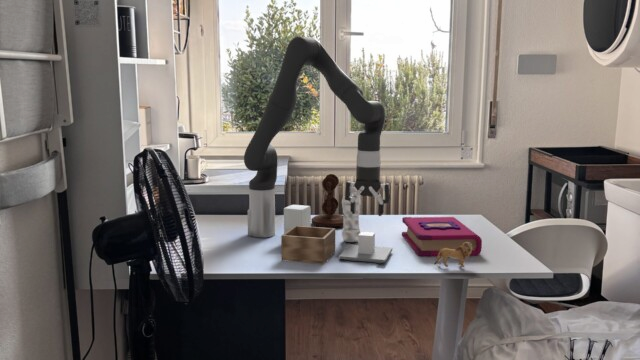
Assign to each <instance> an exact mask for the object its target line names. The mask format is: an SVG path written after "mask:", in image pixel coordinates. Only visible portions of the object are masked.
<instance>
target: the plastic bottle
mask: <svg viewBox="0 0 640 360" xmlns="http://www.w3.org/2000/svg"><path fill="white" fill-rule="evenodd" d="M357 191H358V190H357V189H356V188H355V186H353V188H352V189H351V193H350V196H351V197H353V196H354V195H355V194H356V192H357ZM355 202H356V213H355V214H352V212H351V211H350V208H351V203H350V201H348V200H345V194H344V196H343V197H342V199H341V205H342V206H341V207H342V215H343V216H344V217H343V219H344V220H343V225H342V228H341V229H342V230H341V238H342V241H343V242H346V243H357V242H358V235H359V234H360V233H361V229H360V210H361V209H360V208H361V204H362V203H361V202H362V201H361V198H360V196H359V197H358V198H357V199H356V200H355Z"/></svg>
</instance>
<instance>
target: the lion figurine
mask: <svg viewBox="0 0 640 360" xmlns="http://www.w3.org/2000/svg"><path fill="white" fill-rule="evenodd" d="M472 249H473V248H472V244H471V243H469V242H465V243H463V245H461V246H460V247H459V248H457V249H448V248H443V249H441V250H440V251H439V253H438V256H436V261H435V262H434V263H433V265H440V264H441V262H440V261H441V260H443V261H442V264H443V265H444V266H445V268H448V267H449V265H448V264H447V263H446V261H447V259H448V258H451V259H453V260H457V265H458V266H460V267H462V268H464V267H465V264H464V262H465V259H468V258H469V257H470V256H469V255H470V254H471V252H472ZM440 253H441V255H440Z"/></svg>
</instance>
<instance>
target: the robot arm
mask: <svg viewBox="0 0 640 360" xmlns="http://www.w3.org/2000/svg"><path fill="white" fill-rule="evenodd" d="M304 66H311V67H312V68H315V70H317V71H318V72H320V74H321V75H322V76H323V77H324V79H325V81H326V83H327V86H328V87H329V89H330V91H331V92H332V93H333V94H334V95H335V97H336V98H338V99H339V100H340V101H341V102H342V103H343V104H345V106H346V108H347V110H348V111H349V113H350V114H351V116H352V117H353V118H354V120H356V121H357V122H359V123H361V124H363V130H362V131H360V132H359V133H358V134H357V135H358V136H357V151H356V171H355V172H356V173H355V175H356V176H355V182H353V181H350V180H348V181H347V182H346V183H345V194H344V195H345V200H348V201H350V203H351V208H350V211H351V212H352V214H355V213H356V202H355V200H356V199H357V198H358V197H359V198H360V196H362V197H369V198H372V197H374V198H375V199H376V201H377V203H379V204H378V217H382V215H384V213H385V204H389V203H390V201H391V187H390V186H391V185H390V183H388V182H387V183H381V151H380V150H381V135H382V132H383V128H384V123H385V118H386V111H385V107H384V105H383V104H382V103H381V102H380V101H378V100H367V99H366V98H365V97H364V92H363V90H362V89H361V87H360V86H359V85H358V84H357V83H356V82H355V81H353V79H351V78H350V76H348V75H347V74H346V73H345V72H344V71H343V69H341V67H339V65H338V64H337V63H336V61H335V60H334V59H333V58H332V57H331V55H330V54H329V52H328V51H327V50H326V48H325V47H324V46H323V44H322V43H321V42H320V41H319V40H318V39H317V38H315V37H313V36H300V35H299V36H295V37H293V38H292V39H291V40H290V41H289V43H288V45H287V47H286V49H285V53H284V57H283V60H282V63H281V67H280V71H279V74H278V76H277V79H276V81H275V83H274V86H273V88H272V91H271V94H270V96H269V98H268V100H267V103H266V106H265V109H264V112H263V114H262V116H261V119H260V121H259V123H258V125H257V128H256V129H255V132H254V134H253V136H252V138H251V140H250V141H249V143H248V145H247V147H246V149H245V150H244V151H245V152H244V155H243V162H244V166H245V167H246V169H248V170H249V171H251V172H256V174H255V176H254V177H252V178H251V179H250V180H249V182H248V189H249V190H248V191H249V192H248V196H249V207H248V209H247V236H250V237H253V238H269V237H270V238H271V237H274V236H275V235H276V206H275V205H276V201H275V200H276V199H275V197H276V196H275V195H276V192H275V190H276V189H275V188H276V187H275V185H276V182H277V178H278V153H277V149H276V148H275V146H273V145H272V144H271V142H272V141H273V140H274V138H275V137H276V136H277V135H278V133H280V132H281V130H283V128H284V127H285V126H286V125H287V124H288V122H289V121H290V119H291V117H292V114H293V113H294V110H295V108H296V105H297V98H298V97H297V96H298V95H297V94H298V93H297V81H298V78H299V76H300V75H301V74H300V73H301V71H302V69H303V68H304ZM353 186H355V188H356V189H357V192H356V194H355V195H354V196H353V197H351V196H350V193H351V189H352V188H353ZM381 188H382V191H383V192H384V198H383V196H382V194H381V193H380V189H381Z"/></svg>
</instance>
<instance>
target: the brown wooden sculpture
mask: <svg viewBox="0 0 640 360" xmlns="http://www.w3.org/2000/svg"><path fill="white" fill-rule="evenodd" d="M321 184H322V188H323V194H322V202H321V213H322V214H317V215H315V216H314V217H312V218H311V224H313V225H314V227H339V228H340V229H343V220H344V219H343V217H344V216H343V214H337V213H335V212H336V211H337V209H339V201H338V199H336V198H335V197H334V196H335V189H336V188H337V186H338V185H339V178H338V176H337V175H336V174H333V173H332V174H331V173H330V174H328V175H326V176H325V177H324V178H323V180H322V182H321ZM325 193H326V199H325Z"/></svg>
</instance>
